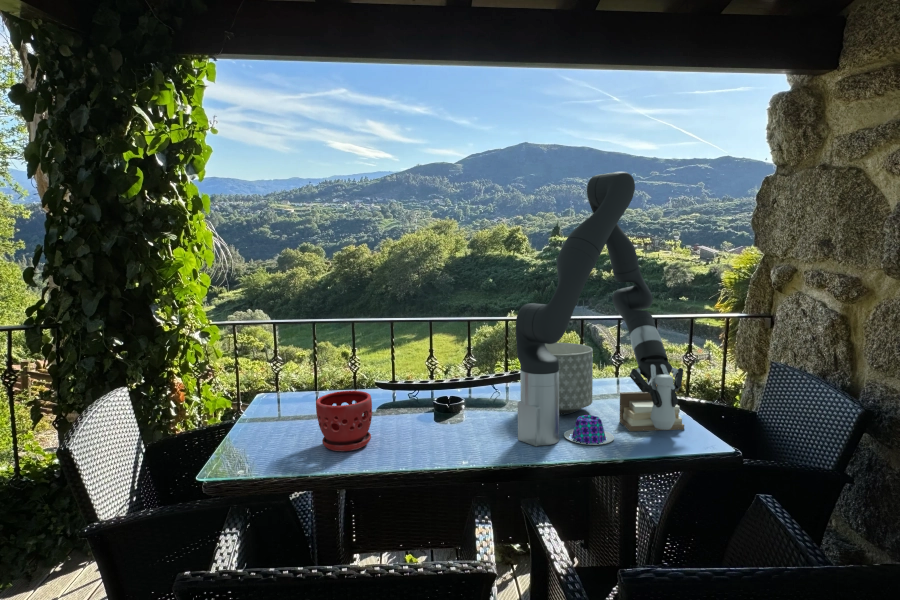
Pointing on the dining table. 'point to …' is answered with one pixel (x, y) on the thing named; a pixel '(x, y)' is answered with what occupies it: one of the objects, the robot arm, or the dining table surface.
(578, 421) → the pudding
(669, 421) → the salt shaker
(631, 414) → the offcut rack
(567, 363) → the planter
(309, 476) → the dining table surface
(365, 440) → the plant pot
